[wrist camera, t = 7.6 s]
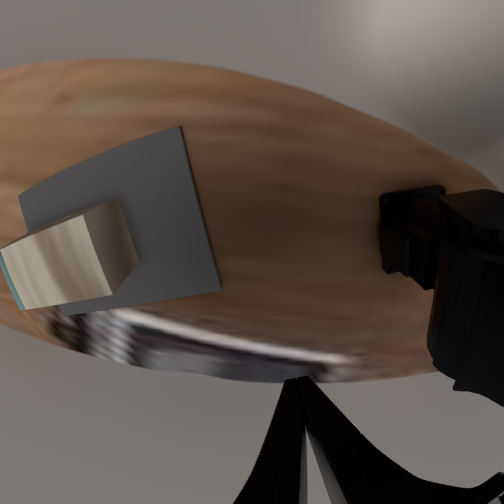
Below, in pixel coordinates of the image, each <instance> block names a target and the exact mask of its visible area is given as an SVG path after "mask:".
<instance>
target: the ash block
mask: <svg viewBox="0 0 504 504" xmlns="http://www.w3.org/2000/svg"><path fill="white" fill-rule="evenodd" d="M138 263H139V259H138V256H137V253H136V251H135V248H134V245H133V242H132V239H131V236H130V233H129V230H128V227H127V223H126V220H125V217H124V214H123V210H122V207H121V204H120V200H119V198H117V199H114V200H111V201H108V202H105V203H102V204H99V205H96V206H94V207H91V208H88V209H85V210H83V211H80V212H77V213H75V214H72V215H70V216H67V217H65V218H62V219H60V220H57V221H55V222H52V223H50V224H47V225H45V226H43V227H40V228H38V229H36V230H33V231H31V232H29V233H28V234H26V235H24V236H22V237H20V238H18V239H17V240H15V241H13V242H11V243H10V244H8V245H6V246H4V247H3V248H1V249H0V266H1V268H2V271H3V273H4V275H5V278H6V280H7V283H8V285H9V287H10V289H11V292H12V294H13V296H14V298H15V300H16V302H17V304H18V306H19V308H20V310H27V309H33V308H39V307H45V306H51V305H57V304H63V303H69V302H75V301H81V300H87V299H93V298H98V297H104V296H110V295H113V294H114V293H115V292H116V290H117V289H118V288H119V287H120V285H121V284H122V283H123V282H124V280H125V279H126V278H127V277H128V275H129V274H130V273H131V272H132V270H133V269H134V268H135V267H136V266H137V264H138Z"/></svg>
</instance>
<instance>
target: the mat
mask: <svg viewBox="0 0 504 504" xmlns="http://www.w3.org/2000/svg"><path fill="white" fill-rule="evenodd" d="M18 198H19V202H20V205H21V209H22V213H23V216H24V219H25V223H26V226H27V229H28V232H31V231H33V230H36V229H38V228H40V227H43V226H45V225H47V224H50V223H52V222H55V221H57V220H60V219H62V218H65V217H67V216H70V215H72V214H75V213H77V212H80V211H83V210H85V209H88V208H91V207H94V206H96V205H99V204H102V203H105V202H108V201H111V200H114V199H117V198H119V200H120V204H121V207H122V210H123V214H124V217H125V220H126V223H127V227H128V230H129V233H130V236H131V239H132V242H133V245H134V248H135V251H136V253H137V256H138V259H139V263H138V264H137V266H136V267H135V268H134V269H133V270H132V272H131V273H130V274H129V275H128V277H127V278H126V279H125V280H124V282H123V283H122V284H121V285H120V287H119V288H118V289H117V290H116V292H115V293H114V294H113V295H110V296H104V297H98V298H93V299H87V300H81V301H75V302H69V303H63V304H58V305H59V307H60V309H61V311H62V313H63V315H64V316H65V315H72V314H80V313H87V312H94V311H101V310H108V309H114V308H121V307H128V306H134V305H140V304H146V303H153V302H159V301H165V300H170V299H176V298H182V297H188V296H193V295H199V294H204V293H210V292H215V291H221V290H222V283H221V280H220V276H219V273H218V269H217V266H216V262H215V259H214V255H213V251H212V248H211V244H210V241H209V237H208V233H207V229H206V226H205V222H204V218H203V214H202V211H201V207H200V203H199V199H198V195H197V191H196V187H195V183H194V179H193V175H192V171H191V167H190V163H189V158H188V154H187V150H186V146H185V141H184V137H183V133H182V128H181V127H180V126H178V127H174V128H171V129H168V130H165V131H162V132H158V133H155V134H152V135H149V136H146V137H144V138H141V139H138V140H135V141H132V142H130V143H127V144H124V145H122V146H119V147H117V148H114V149H112V150H109V151H107V152H104V153H102V154H99V155H97V156H95V157H92V158H90V159H88V160H86V161H83V162H81V163H79V164H77V165H75V166H73V167H70V168H68V169H66V170H64V171H62V172H60V173H58V174H56V175H54V176H52V177H50V178H49V179H47V180H45V181H43V182H41V183H39V184H37V185H36V186H34V187H32V188H30V189H29V190H27V191H25V192H23V193H22V194H20V195H18Z"/></svg>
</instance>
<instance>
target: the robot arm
mask: <svg viewBox="0 0 504 504" xmlns="http://www.w3.org/2000/svg"><path fill="white" fill-rule="evenodd" d="M440 190H441V193H440ZM386 198H388V202H387V203H385V199H386ZM380 213H381V222H380V224H379V231H380V254H381V255H382V260H383V270H384V272H385V273H387V274H391V273H395V272H399V271H400V272H401V273H402V274H403V275H404V276H405V277H411V278H412V279H413V280H415V281H416V282H417V283H418V284H419V285H420V286H421V287H422V288H423V289H424V290H429V289H434V296H433V303H432V310H431V314H430V322H429V327H428V332H427V348H428V350H429V352H430V355H431V357H432V358H433V362H432V363H433V365H434V366H435V367H436V368H437V369H438V370H439V371H440V372H441V373H443V374H445V375H446V376H448V377H450V378H452V379H455V383H454V385H453V390H454V391H469V392H473V393H477V394H481V395H483V396H485V397H487V398H489V399H490V400H492V401H494V402H496V403H497V404H499V405H500V406H502V407H504V193H502V192H498V191H493V190H488V189H481V190H474V191H468V192H461V193H455V194H449V195H446V189H445V187H444V186H441V185H436V186H429V187H422V188H415V189H409V190H402V191H396V192H390V193H384V194H382V195H381V197H380ZM388 266H390V268H389V269H387V268H388ZM305 426H306V428H305ZM306 431H307V434H308V437H309V440H310V443H311V446H312V449H313V451H314V455H315V457H316V460H317V463H318V466H319V469H320V472H321V475H322V478H323V481H324V483H325V486H326V489H327V492H328V495H329V498H330V501H331V504H504V493H503V492H504V473H503V472H498V473H497V474H495V475H494V476H492V477H491V478H490V479H488V480H487V481H486V482H484V483H483V484H481V485H479V486H476V487H474V488H460V487H455V486H449V485H444V484H439V483H435V482H430V481H426V480H423V479H420V478H418V477H416V476H414V475H413V474H411V473H409V472H408V471H407V470H405V469H404V468H402V467H401V466H399V465H398V464H397V463H395V462H394V461H392V460H391V459H390V458H388V457H387V456H386V455H384V454H383V453H382V452H381V451H379V450H378V449H377V448H376V447H375V446H374V445H373V444H372V443H371V442H370V441H368V440H367V438H366V437H365V436H364V435H363V434H360V431H359V430H358V429H357V428H356V427H355V426H354V425H353V424H352V423H351V422H350V421H349V420H348V419H347V418H346V416H345V415H344V414H343V413H342V412H341V411H340V410H339V409H338V408H337V407H336V406H335V405H334V404H333V402H332V401H331V400H330V399H329V398H328V397H327V396H326V395H325V394H324V393H323V391H322V390H321V389H320V388H319V387H318V386H317V385H316V384H315V382H314V381H313V380H312V379H311V378H310V377H309V376H307V375H306V376H301V377H298V378H297V379H296V378H292V379H287V380H285V382H284V385H283V388H282V391H281V394H280V397H279V400H278V403H277V406H276V409H275V412H274V415H273V418H272V420H271V423H270V427H269V429H268V432H267V435H266V437H265V440H264V443H263V445H262V448H261V451H260V453H259V454H260V455H258V458H257V460H256V463H255V465H254V468H253V470H252V472H251V474H250V476H249V478H248V480H247V482H246V483H245V485H244V487H243V489H242V490H241V492H240V493H239V495H238V496H237V498H236V500H235V501H234V503H233V504H307V446H306V445H307V444H306ZM501 493H503V494H502V495H501V496H499V495H500V494H501Z"/></svg>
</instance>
